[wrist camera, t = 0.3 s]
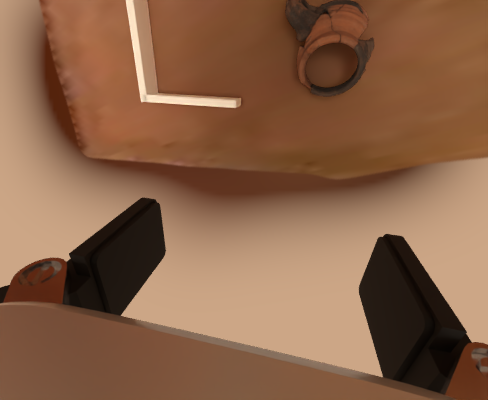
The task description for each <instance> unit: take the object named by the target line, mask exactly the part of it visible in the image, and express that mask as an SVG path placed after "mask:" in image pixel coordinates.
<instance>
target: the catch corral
mask: <svg viewBox="0 0 488 400" xmlns="http://www.w3.org/2000/svg"><path fill="white" fill-rule="evenodd" d="M126 5H127V11H128V18H129V25H130V31H131V38H132V44H133V51H134V58H135V64H136V71H137V77H138V84H139V91H140V97H141V102H155V103H170V104H184V105H199V106H214V107H228V108H237V107H239V106H241V98H229V97H213V96H197V95H181V94H164V93H158V86H157V77H156V69H155V60H154V52H153V43H152V35H151V26H150V18H149V9H148V1H147V0H126Z"/></svg>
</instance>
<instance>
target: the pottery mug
mask: <svg viewBox="0 0 488 400" xmlns="http://www.w3.org/2000/svg"><path fill="white" fill-rule="evenodd" d="M324 12H325V13H327V14H323V13H324ZM285 14H286V17H287V19H288V21H289V23H290V24H291V26H292V27H293V28H294V29H295V31H296V33H297V40H299V41H300V42H302V41H304V40H305V39H306V42H305V46H300V47H299V51H298V57H297V72H298V77H299V80H300V81H301V83H302V84H304V85H305V86H307V87H308V88H310V89H311V93H312V94H314V95H318V96H323V97H330V96H334V95H337V94H341V93H344V92H345V91H347V90H349V89H350V88H352V87H353V86H354V85H355V84H356V83H357V82H358V80H359V79H360V78H361V75H362V74H363V73H364V72H365V70H366V69H365V64H366V63H367V62H368V60H369V58H370V56H371V52H372V51H373V49H374V39H373V38H370V39H369V40H359V37H360V36H361V35H362V34H363V32H364V31H365V29H366V28H367V26H368V24H367V22H368V21H369V18H368V15H367V13H366V11H365V10H364V9H363V8H362V6H360V5H359V4H358V3H356V2H353V1H350V0H334V1H331V2H329V3H326V4H322V5H321V6H320V7H313V6H311V5H309V4H308V3H307V2H306V0H288V1H287V3H286V10H285ZM329 43H343V44H346V45H348V46H349V47H351V48H352V49H354V51H355V52H356V55H357V58H358V65H357V69H356V71H355V73H354V74H353V75H352V77H351V78H350V79H349V80H347V81H346V82H345V83H343V84H341V85H338V86H335V87H330V88H323V87H319V86H316V85H314V84H312V83H311V82H310V81H309V79H308V78H307V76H306V72H305V67H306V63H307V60H308V58H309V57H310V55H311V53H313V52H314V51H315V50H316V49H318V48H319V47H321V46H323V45H325V44H329Z"/></svg>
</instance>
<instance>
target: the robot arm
mask: <svg viewBox="0 0 488 400" xmlns="http://www.w3.org/2000/svg"><path fill="white" fill-rule="evenodd" d="M165 251H166V250H165V241H164V233H163V225H162V217H161V210H160V204H159V203H157V202H156V200H155V199H149V198H141V199H139V200H138V201H137V202H135V203H134V204H133V205H131V206H130V207H129V208H128V209H126V210H125V211H124V212H122V213H121V214H120V215H118V216H117V217H116V218H115V219H113V220H112V221H111V222H109V223H108V224H107V225H106V226H104V227H103V228H102V229H101V230H99V231H98V232H96V233H95V234H94V235H93V236H91V237H90V238H89V239H87V240H86V241H85V242H84V243H82V244H81V245H80V246H78V247H77V248H76V249H75V250H73V251H72V252H71V253H69V255H70V258H71V259H70V260H68V261H67V262H66V261H65V260H64V259H61V258H46V259H42V260H39V261H35V262H33V263H31V264H29V265H27V266H25V267H24V268H22V269H21V270H20V271H18V272H17V273H16V274H15V275H14V277H13V279H12V280H11V283H10V285H8V286H4V287H1V288H0V400H488V345H487V344H484V343H478V342H473V343H472V342H471V341H470V339H469V337H468V336H467V334H466V333H467V332H466V330H465V328H464V327H463V326H462V324H461V322H460V321H459V319H458V318H457V316H456V315H455V314H454V312H453V310H452V309H451V307H450V306H449V304H448V303H447V302H446V300H445V299H444V297H443V296H442V294H441V293H440V291H439V290H438V288H437V287H436V285H435V284H434V282H433V281H432V279H431V278H430V276H429V275H428V273H427V272H426V270H425V269H424V267H423V266H422V264H421V263H420V261H419V260H418V258H417V257H416V255H415V254H414V252H413V251H412V249H411V248H410V246H409V245H408V243H407V242H406V241H405V239H404V238H403V237H402V236H397V235H390V234H385V235H384V236H383V237H379V238H378V240H377V242H376V245H375V247H374V250H373V252H372V255H371V258H370V260H369V262H368V265H367V268H366V270H365V272H364V275H363V278H362V280H361V283H360V286H359V295H360V298H361V302H362V305H363V309H364V312H365V316H366V319H367V323H368V326H369V329H370V333H371V336H372V340H373V343H374V347H375V350H376V354H377V357H378V360H379V364H380V367H381V371H382V374H383V377H379V376H375V375H370V374H366V373H363V372H359V371H355V370H351V369H347V368H342V367H338V366H334V365H330V364H326V363H321V362H317V361H313V360H309V359H305V358H301V357H296V356H292V355H288V354H283V353H279V352H275V351H271V350H267V349H263V348H258V347H254V346H250V345H245V344H241V343H237V342H232V341H228V340H223V339H220V338H215V337H211V336H207V335H202V334H198V333H194V332H189V331H185V330H181V329H176V328H171V327H167V326H163V325H158V324H153V323H149V322H145V321H141V320H136V319H132V318H127V317H123V316H121V314H122V313H123V311H124V310H125V309H126V307H127V306H128V305H129V303H130V302H131V301H132V299H133V298H134V297H135V295H136V294H137V293H138V291H139V290H140V289H141V287H142V286H143V285H144V283H145V282H146V280H147V279H148V278H149V276H150V275H151V274H152V272H153V271H154V270H155V268H156V267H157V266H158V264H159V263H160V262H161V260H162V259H163V257H164V255H165Z"/></svg>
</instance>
